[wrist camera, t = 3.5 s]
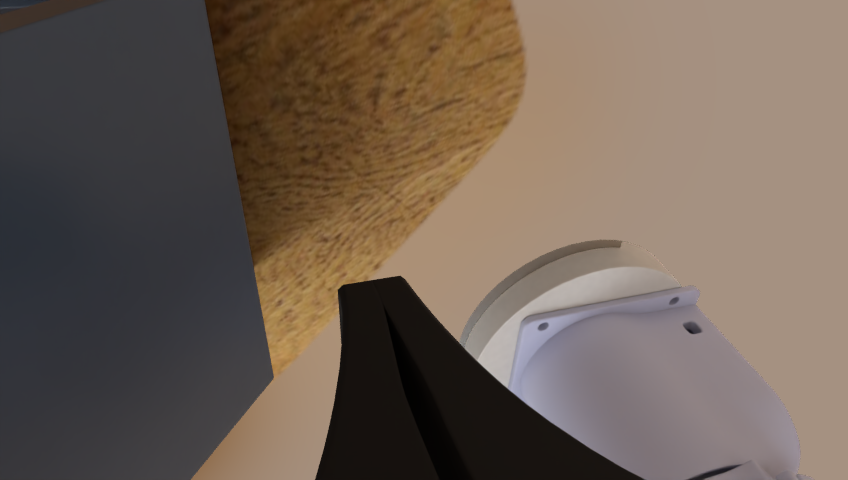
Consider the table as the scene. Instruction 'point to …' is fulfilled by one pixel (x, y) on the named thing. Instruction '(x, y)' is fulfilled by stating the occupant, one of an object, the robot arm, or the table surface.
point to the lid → (120, 246)
